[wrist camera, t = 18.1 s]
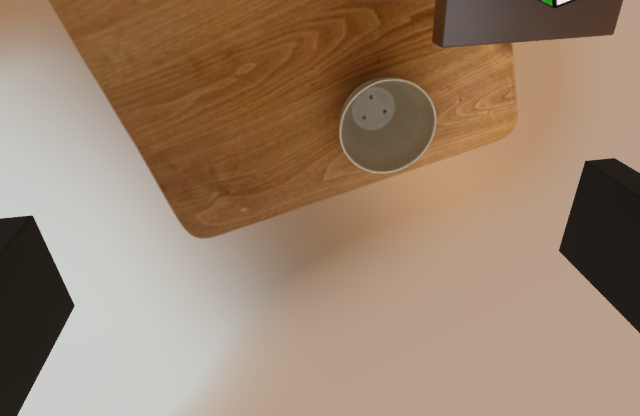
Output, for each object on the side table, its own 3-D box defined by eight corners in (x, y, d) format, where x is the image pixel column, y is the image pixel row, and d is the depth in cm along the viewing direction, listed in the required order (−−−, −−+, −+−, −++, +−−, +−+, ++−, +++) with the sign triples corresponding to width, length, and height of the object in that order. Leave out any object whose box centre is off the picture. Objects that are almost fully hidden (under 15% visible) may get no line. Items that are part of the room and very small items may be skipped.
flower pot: (407, 148, 53) (426, 174, 47) (326, 146, 51) (334, 172, 45) (423, 64, 48) (447, 81, 42) (334, 59, 46) (345, 76, 40)
